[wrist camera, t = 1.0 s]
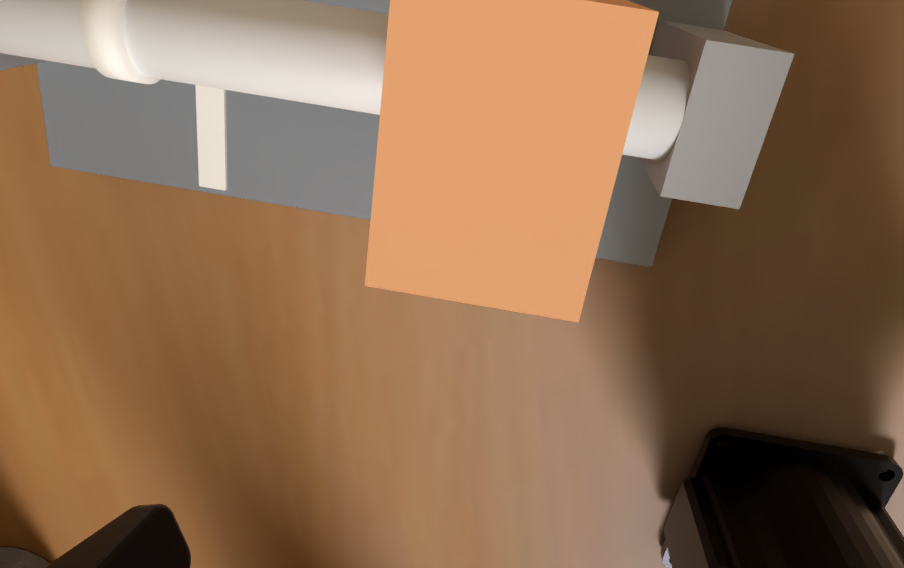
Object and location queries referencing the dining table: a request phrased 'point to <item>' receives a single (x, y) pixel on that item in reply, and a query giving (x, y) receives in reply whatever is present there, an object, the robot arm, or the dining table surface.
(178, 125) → the rail stand
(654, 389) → the dining table surface
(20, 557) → the beverage cup
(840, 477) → the robot arm
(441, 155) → the collar
